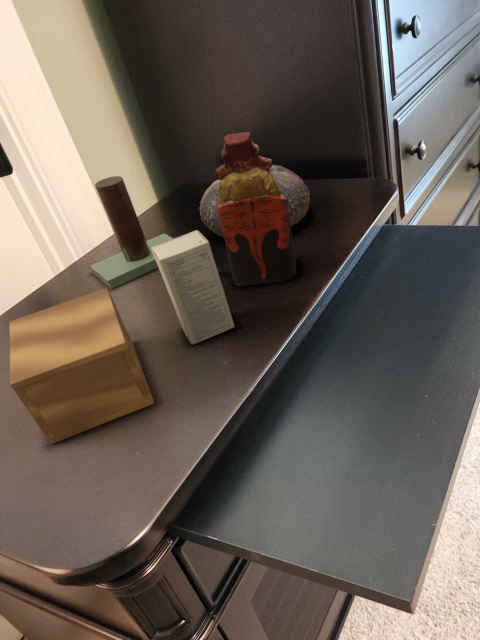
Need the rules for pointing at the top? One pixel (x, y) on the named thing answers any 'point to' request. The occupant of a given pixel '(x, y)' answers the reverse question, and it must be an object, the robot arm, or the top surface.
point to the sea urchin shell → (286, 182)
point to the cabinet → (76, 366)
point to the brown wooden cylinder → (123, 218)
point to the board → (126, 265)
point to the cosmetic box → (194, 286)
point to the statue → (253, 215)
